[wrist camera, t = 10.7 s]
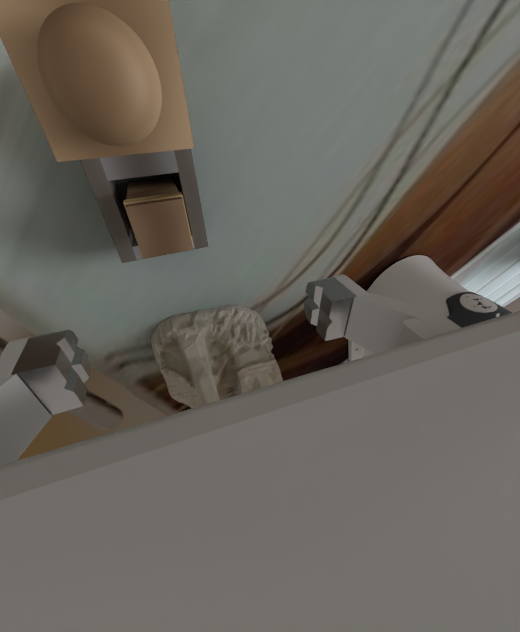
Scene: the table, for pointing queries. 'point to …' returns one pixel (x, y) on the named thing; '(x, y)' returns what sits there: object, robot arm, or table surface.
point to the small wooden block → (158, 217)
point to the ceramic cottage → (214, 354)
